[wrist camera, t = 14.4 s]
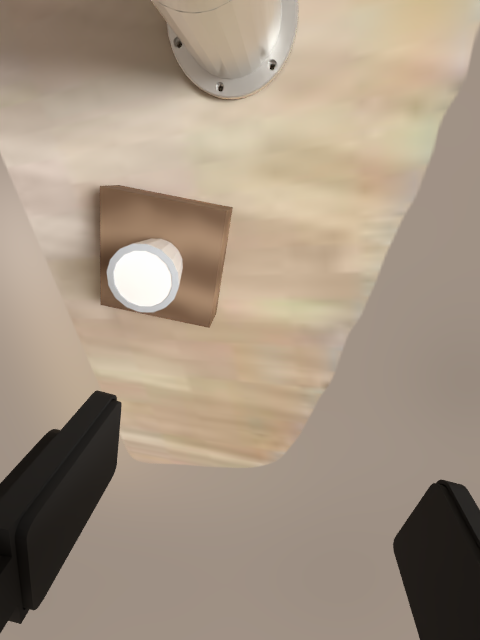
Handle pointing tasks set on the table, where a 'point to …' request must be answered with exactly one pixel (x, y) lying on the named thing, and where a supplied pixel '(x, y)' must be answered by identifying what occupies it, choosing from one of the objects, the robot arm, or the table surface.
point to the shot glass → (145, 275)
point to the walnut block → (177, 228)
